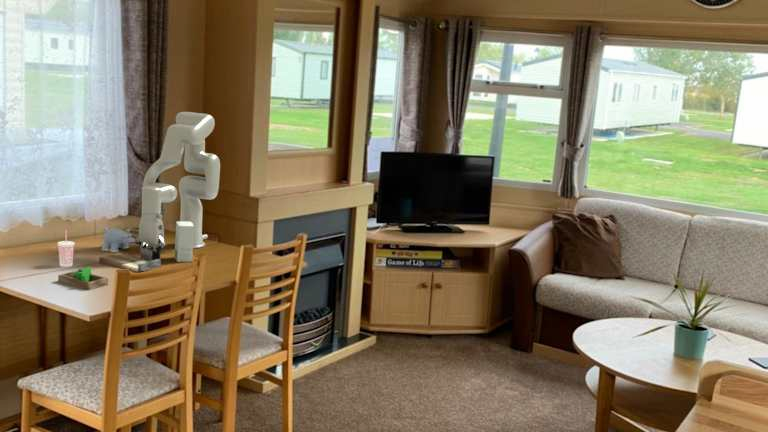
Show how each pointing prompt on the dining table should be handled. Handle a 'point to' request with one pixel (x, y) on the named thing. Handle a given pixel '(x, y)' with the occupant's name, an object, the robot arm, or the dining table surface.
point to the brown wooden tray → (95, 281)
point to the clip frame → (133, 233)
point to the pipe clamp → (83, 274)
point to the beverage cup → (66, 252)
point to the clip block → (147, 253)
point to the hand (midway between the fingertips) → (150, 258)
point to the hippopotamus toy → (116, 240)
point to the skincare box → (184, 241)
